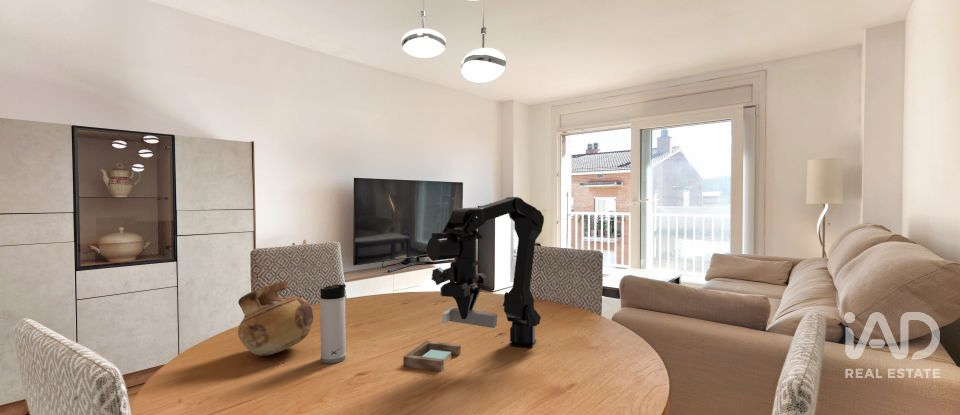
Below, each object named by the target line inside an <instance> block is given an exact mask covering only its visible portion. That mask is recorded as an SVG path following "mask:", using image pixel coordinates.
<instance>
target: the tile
mask: <svg viewBox="0 0 960 415" xmlns="http://www.w3.org/2000/svg"><path fill="white" fill-rule="evenodd" d="M422 357H429V358H437V359H444V365H445V364H446V363H447V362H448V361H450V359H451V358H452V355H451V352H447V351H439V350H430V351H428V352H427V353H426V354H424V355H423V356H422Z"/></svg>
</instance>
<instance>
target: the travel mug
mask: <svg viewBox="0 0 960 415" xmlns="http://www.w3.org/2000/svg"><path fill="white" fill-rule="evenodd" d="M346 287H347V284H345V283H343V284H333V285H328V286H325V287H323V288H320V297H319V300H320V304H319V308H320V309H319V311H320V312H319V315H320V316H319V318H320V321H319V322H320V361H321V363H323V364H326V365H327V364H336V363H341V362H343V361H344V360H345V359H346V357H347V356H346V355H347V353H346V349H347V348H346V347H347V346H346V293H345V292H346Z"/></svg>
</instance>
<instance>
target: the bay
mask: <svg viewBox="0 0 960 415" xmlns="http://www.w3.org/2000/svg"><path fill="white" fill-rule="evenodd" d="M461 346H462V345H461V344H459V343H448V342H439V341H429V340H425V341H424V342H422V343H421V344H420V345H418V346H416V347H415V348H414V349H412V350H411V351H410V352H408V353H406V354H405V355H404V356H402V357H403V360H402V362H403V365H402V366H403V367H404V368H405V367H406V368H412V369H413V368H414V369H419V370H420V369H421V370H427V371H435V372H442V371H444V369H445V367H444V366H445V364H444V359H437V358H429V357H422V356H423V355H424V354H426V353H427V352H428V351H430V350H439V351H447V352H451V356H460V355H461V354H462V352H461V349H462V348H461Z"/></svg>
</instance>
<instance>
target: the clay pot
mask: <svg viewBox="0 0 960 415" xmlns="http://www.w3.org/2000/svg"><path fill="white" fill-rule="evenodd" d="M288 285H289V284H288V281H286V280H282V281H279V282H274V283H273V284H270V285H267V286H263V287H261V288H258V289H256V290H253V291H251V292H248V293H246V294H245V295H242V296H241V297H240V298H239V299H238V302H237V303H238V305H239V307H240V308H241V310H242V313H243V315H244V316H243V319H242V320H241V322H240V323H239V324H238V329H237V336H238V338H239V340H240V342H241V344H242V345H243V347H245V348H246V349H247V350H248V351H249V352H250V353H252V354H254V355H256V356H262V357H265V356H272V355H274V354H277V353H280V352H283V351H285V350H286V349H289V348H291V347H294V346H295V345H297V344H299V343H300V342H302V341H303V340H304V339H306V337H308V335H309V333H310V332H311V331H312V327H313V323H314V312H313V311H314V310H313V308H312V306H311V304H310V303H309V302H308V301H307V300H306V299H305V298H303V297H301V296H300V297H299V296H286V297H281V296H280V295H279V293H280V292H282V291H285V290H286V289H288V288H289V286H288Z"/></svg>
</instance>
